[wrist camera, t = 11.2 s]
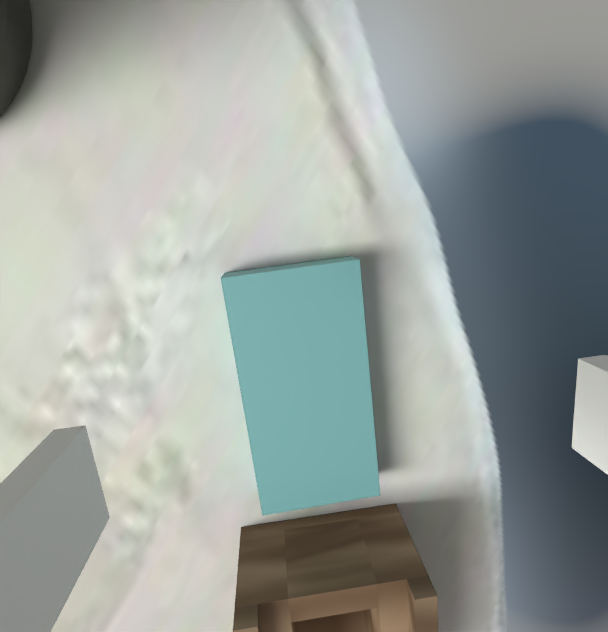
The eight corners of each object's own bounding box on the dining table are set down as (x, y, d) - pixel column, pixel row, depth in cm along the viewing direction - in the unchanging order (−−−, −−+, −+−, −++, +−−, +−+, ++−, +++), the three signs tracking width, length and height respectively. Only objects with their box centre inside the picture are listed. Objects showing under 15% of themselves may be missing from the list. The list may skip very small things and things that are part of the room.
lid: (225, 272, 28) (220, 278, 25) (350, 255, 29) (359, 259, 26) (262, 489, 33) (262, 515, 30) (370, 471, 33) (380, 495, 30)
